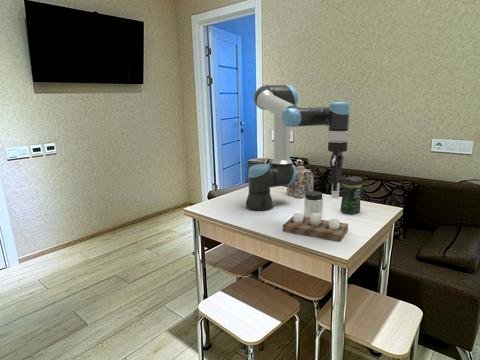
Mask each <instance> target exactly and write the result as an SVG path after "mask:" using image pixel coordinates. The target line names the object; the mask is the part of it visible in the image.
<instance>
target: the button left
mask: <svg viewBox="0 0 480 360" xmlns="http://www.w3.org/2000/svg"><path fill="white" fill-rule="evenodd" d="M292 217H293V223H297V224H303V217H304V214H302V213H293V216H292Z"/></svg>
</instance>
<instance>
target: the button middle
mask: <svg viewBox="0 0 480 360" xmlns="http://www.w3.org/2000/svg"><path fill="white" fill-rule="evenodd" d="M321 220H322V217H321V214H320V213H311V221H310V225H311V226H314V227H320V226H321Z"/></svg>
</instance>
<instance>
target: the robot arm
mask: <svg viewBox="0 0 480 360" xmlns="http://www.w3.org/2000/svg"><path fill="white" fill-rule="evenodd" d="M253 102H254V104H255V106H257V108H259V109H260V110H262V111H268V112H270V113H272V115H273V159H272V161H270V162H271V163H270V164H271V165H270V164H269V163H257V164H254V165H251V166H250V167H249V168H248V174H247V177H248V195H247V198H246V201H245V208H246V209H248V210H249V211H253V212H254V211H256V212H257V211H258V212H263V211H265V212H266V211H269V210H272V209H273V208H274V202H273V201H274V200H273V198H272V195H271V188H276V187H287V185H291V184H293V182H294V181H295V180H296V176H297V170H296V169H297V166H296V165H294V163H293V161H292V160H291V128H297V127H313V126H316V127H317V126H328V133H327V137H328V138H327V141H328V142H327V151H328V152H332V155H331V157H330V160H329V163H330V164H329V165H330V181H329V183H331V197H330V198H331V199H339V198H340V183H342V182H343V180H342V172H343V162H344V155H343V153H344V152H347V151H348V145H349V143H348V140H349V136H350V133H349V126H350V124H349V123H350V113H351V112H350V103H349V102H348V101H335V102H334V101H332V102H330V103H329V106H317V107H315V106H314V107H299V106H298V102H299V95H298V91H297V90H296V88H295V87H294V86H293V85H288V84H280V85H279V84H278V85H277V84H276V85H275V84H273V85H272V84H270V85H269V84H266V85H265V84H264V85H261V86H260V87H258V88H257V89H256V91H255V92H254V94H253Z"/></svg>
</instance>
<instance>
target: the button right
mask: <svg viewBox="0 0 480 360" xmlns="http://www.w3.org/2000/svg"><path fill="white" fill-rule="evenodd" d="M328 221H329V228H328V229H332V230H338V231H339V223H341V221H340V219H337V218H329V220H328Z"/></svg>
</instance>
